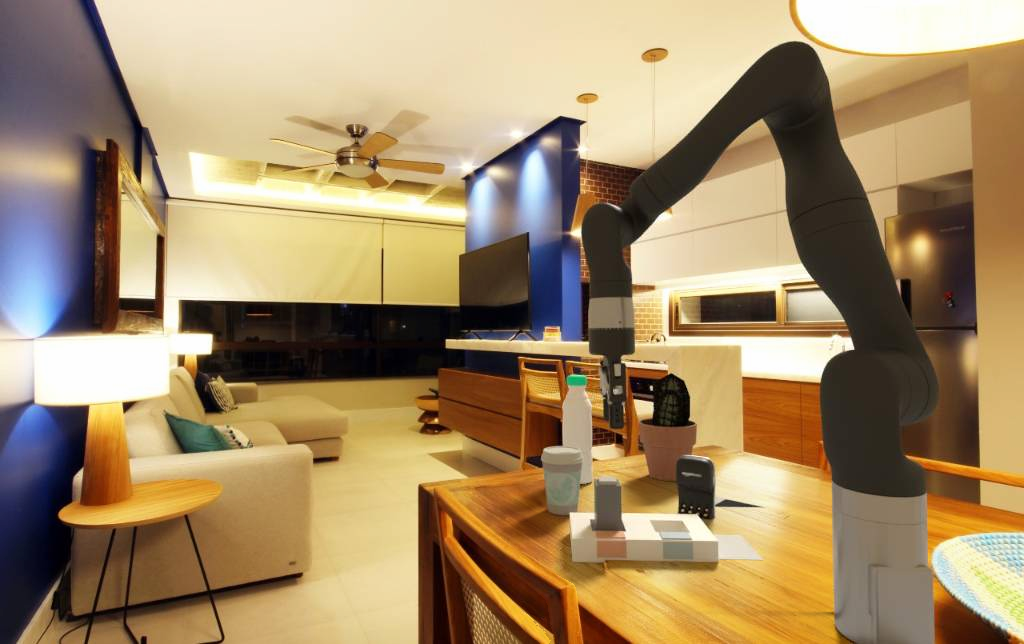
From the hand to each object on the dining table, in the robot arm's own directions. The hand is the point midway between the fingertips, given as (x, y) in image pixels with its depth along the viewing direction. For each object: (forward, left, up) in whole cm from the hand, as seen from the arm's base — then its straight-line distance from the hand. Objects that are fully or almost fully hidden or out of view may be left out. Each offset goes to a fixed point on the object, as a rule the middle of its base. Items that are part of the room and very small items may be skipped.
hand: (613, 424), depth 89 cm
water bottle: (+39, +4, -20) cm, 44 cm away
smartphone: (+19, -28, -21) cm, 40 cm away
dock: (0, -4, -20) cm, 21 cm away
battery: (+15, -17, -20) cm, 30 cm away
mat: (0, -18, -20) cm, 27 cm away
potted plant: (+44, -18, -20) cm, 52 cm away
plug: (0, +1, -20) cm, 20 cm away
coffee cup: (+18, +8, -20) cm, 28 cm away
